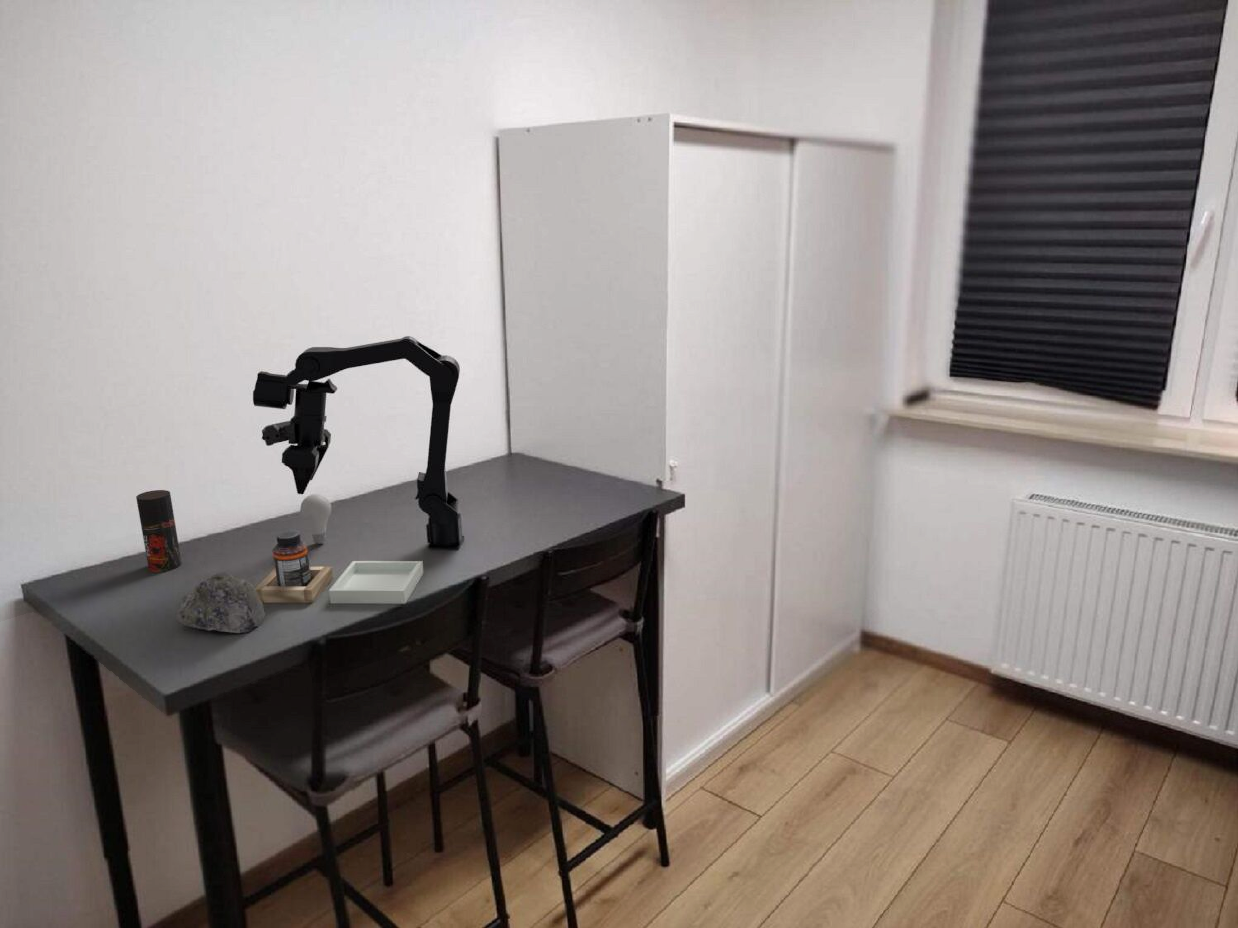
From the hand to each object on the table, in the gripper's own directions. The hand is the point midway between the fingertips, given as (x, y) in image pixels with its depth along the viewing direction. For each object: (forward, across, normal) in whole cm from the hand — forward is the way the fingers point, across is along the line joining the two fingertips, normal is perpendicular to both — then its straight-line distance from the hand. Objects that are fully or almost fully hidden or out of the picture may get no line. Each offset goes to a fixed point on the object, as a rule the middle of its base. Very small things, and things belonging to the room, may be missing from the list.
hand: (304, 486), depth 180 cm
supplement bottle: (+14, +19, +3) cm, 24 cm away
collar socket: (+14, +19, +3) cm, 24 cm away
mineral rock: (+16, +32, -7) cm, 36 cm away
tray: (+12, +20, +18) cm, 29 cm away
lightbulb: (+14, -5, +3) cm, 15 cm away
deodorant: (+19, +2, -25) cm, 32 cm away
